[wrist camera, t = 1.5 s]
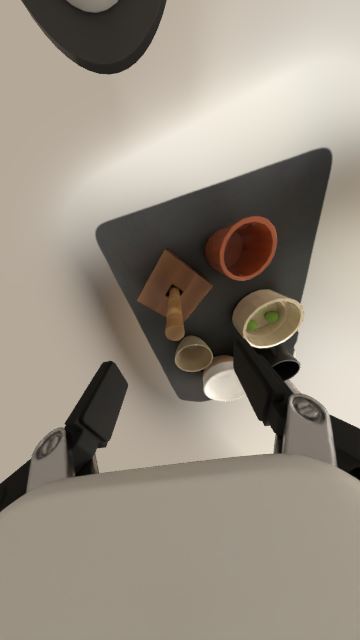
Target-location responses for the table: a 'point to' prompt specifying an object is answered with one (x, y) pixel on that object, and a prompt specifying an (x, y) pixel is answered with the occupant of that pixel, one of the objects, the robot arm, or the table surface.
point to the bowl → (222, 380)
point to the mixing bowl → (265, 330)
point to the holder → (180, 276)
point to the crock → (242, 248)
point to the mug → (280, 361)
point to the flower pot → (193, 354)
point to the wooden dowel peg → (174, 316)
